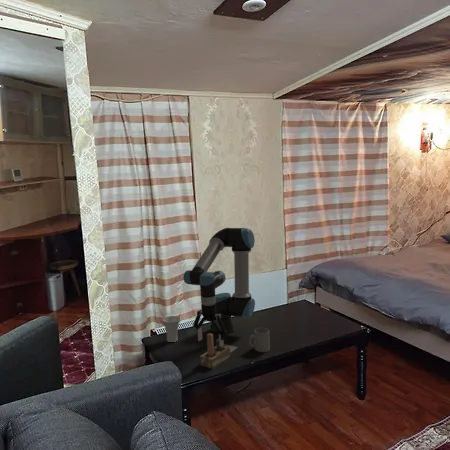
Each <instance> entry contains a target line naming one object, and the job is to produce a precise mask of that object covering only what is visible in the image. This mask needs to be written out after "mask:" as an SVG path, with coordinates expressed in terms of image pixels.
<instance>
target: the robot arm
mask: <svg viewBox="0 0 450 450" xmlns="http://www.w3.org/2000/svg"><path fill="white" fill-rule="evenodd" d="M254 247H255V235H254V232H253V231H252V229H250V228H247V227H225V228H222V229H220V230H218V231H217V232H216V233H215V234H213V235H212V237H211V238H210V239H209V243H208V245H207V247H206V248H205V250H204V251H203V253H202V255H200V257H199V259H198V260H197V262H196V263H195V265H194V266H193V267H192V269H189V270H187V269H186V270H185V272H184V274H183V281H184V284H187V285H191V286H199V288H200V291H199V292H200V305H201V309H199V310H198V311H197V312H196V317H195V319H194V322H193V324H192V327H193V328H195V329H196V335H197V341H198V342H201V341H202V340H203V330H202V329H203V328H202V325H203V324H204V322H210V323H211V324H210V334H213V335H218V339H219V346H220V347H221V346H222V345H224V344H225V343H224V340H225V335H229V334H232V333H234V332H235V324H234V322H233V319H232V317H236V318H237V317H238V318H245V319H246V318H248V319H249V318H251V317H252V315H253V313H254V311H255V307H256V302H255V299H254V298H252V294H251V293H250V290H249V289H250V283H249V281H250V279H249V278H250V277H249V274H250V273H249V271H250V270H249V269H250V268H249V266H250V265H249V261H250V257H249V254H250V252H251V251H252V249H253V248H254ZM225 248H231V252H232V253H233V254H234V255H233V258H234V259H233V260H234V261H233V263H234V293H233V294H232V295H231V293H229V292H222V293H216V289H217V288H218V287H220V286H222V285H223V284H224V283H226V274H225V272H223V271H222V270H216V271H214V272H213V271H209V269H210V267H211V266H212V264H213V263H214V261H215V259H216V258H217V256H218V255H219V254H220V252H221V251H223V250H224V249H225Z"/></svg>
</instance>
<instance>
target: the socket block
mask: <svg viewBox="0 0 450 450" xmlns="http://www.w3.org/2000/svg"><path fill="white" fill-rule="evenodd" d="M215 341H216V342H215V343H216V345H215V346H214V357H212V358H211V357H208V350H207V351H206V352H205V353H203V354H200V356H199V360H200V366H201V367H204V368H208V369H212V370H214V369H215V368H217V366H218V365H220V364H222V362H224V361H225V360H227V359H228V358H230V357H231V353H230V348H229V347H225V346H221V347H220V346H219V338H217V339H216V340H215Z"/></svg>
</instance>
